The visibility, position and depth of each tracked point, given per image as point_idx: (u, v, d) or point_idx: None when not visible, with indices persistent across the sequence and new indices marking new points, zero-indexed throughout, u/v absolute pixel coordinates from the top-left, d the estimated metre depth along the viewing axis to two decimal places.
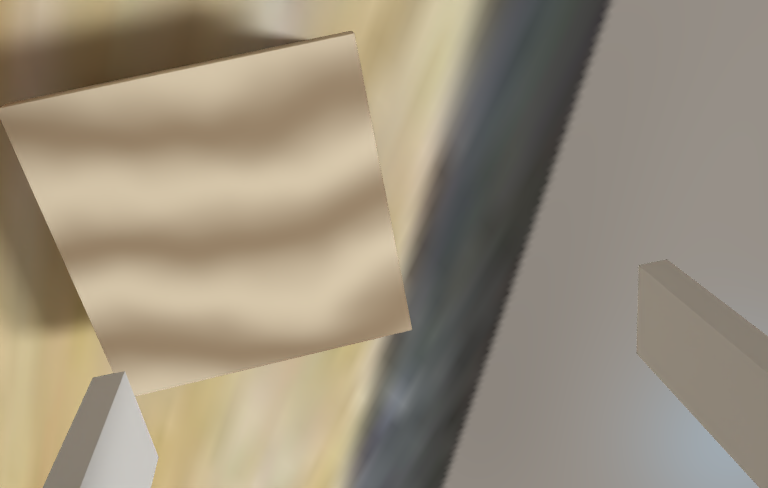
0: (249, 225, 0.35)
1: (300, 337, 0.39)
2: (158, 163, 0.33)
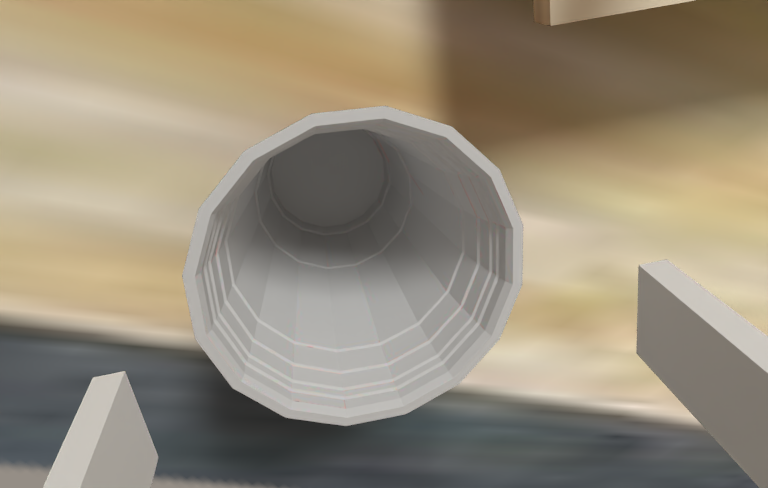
0: None
1: None
2: None
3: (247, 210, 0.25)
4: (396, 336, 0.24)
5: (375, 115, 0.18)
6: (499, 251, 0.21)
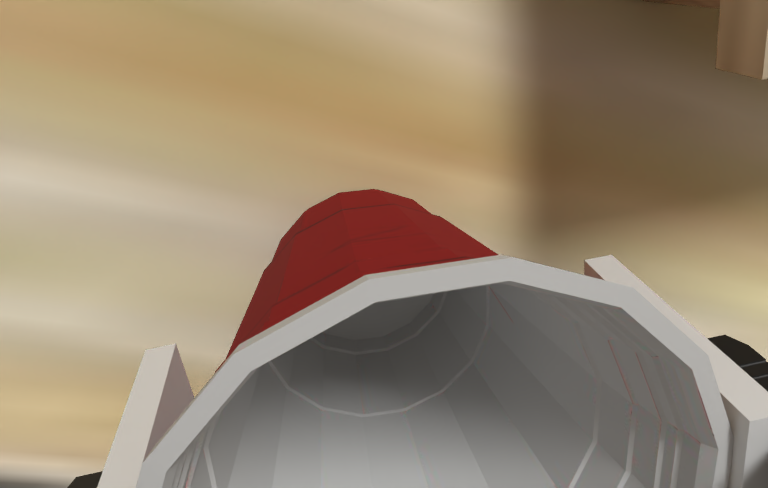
0: None
1: None
2: None
3: None
4: None
5: (492, 275, 0.09)
6: (679, 472, 0.12)
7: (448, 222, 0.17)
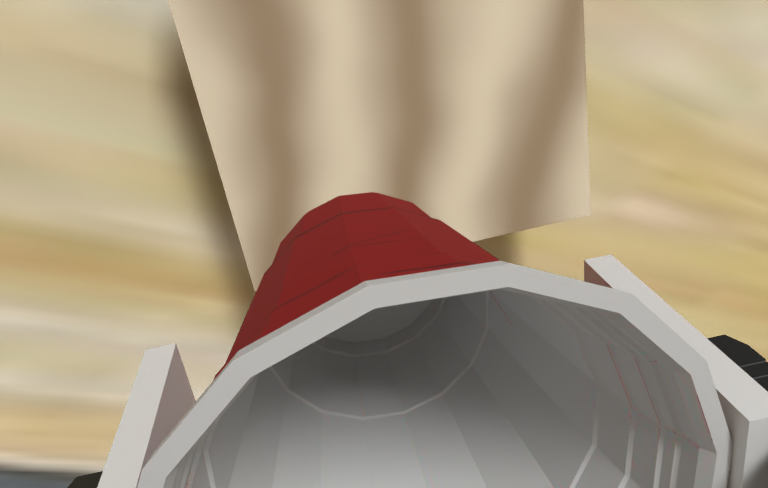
0: (390, 53, 0.29)
1: None
2: (310, 150, 0.30)
3: None
4: None
5: (491, 281, 0.09)
6: (678, 476, 0.12)
7: (447, 225, 0.17)
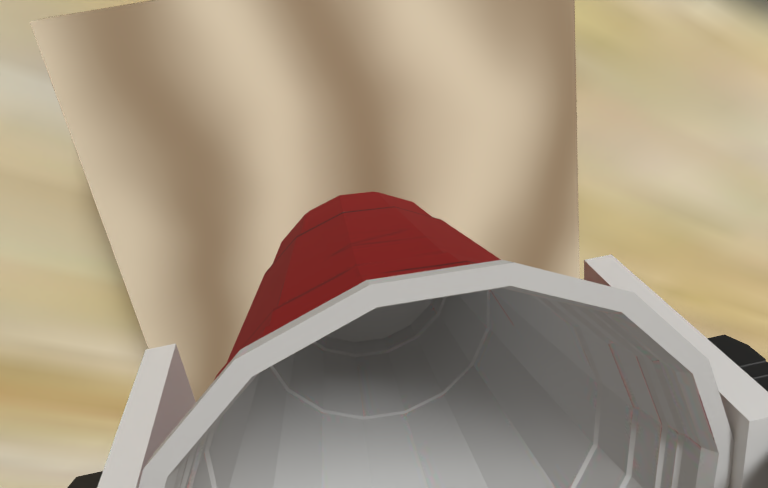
0: None
1: (543, 135, 0.24)
2: (250, 303, 0.25)
3: None
4: None
5: (493, 280, 0.09)
6: (680, 476, 0.12)
7: (449, 225, 0.17)
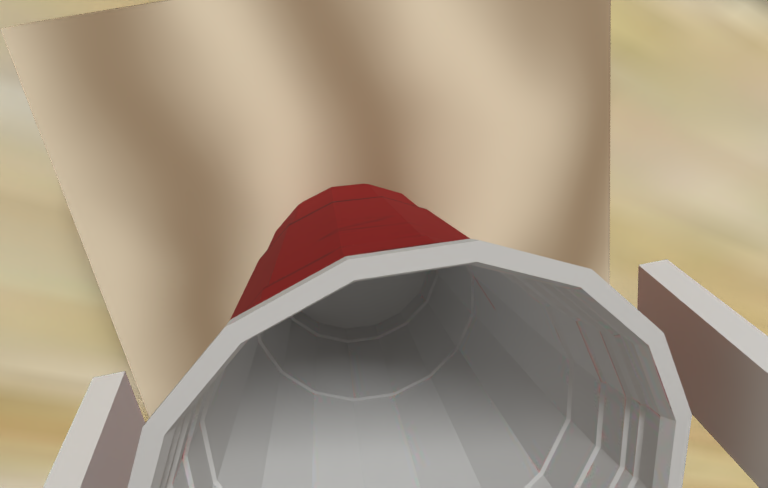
0: None
1: (573, 152, 0.22)
2: None
3: None
4: None
5: (461, 256, 0.10)
6: (642, 444, 0.13)
7: (433, 214, 0.17)
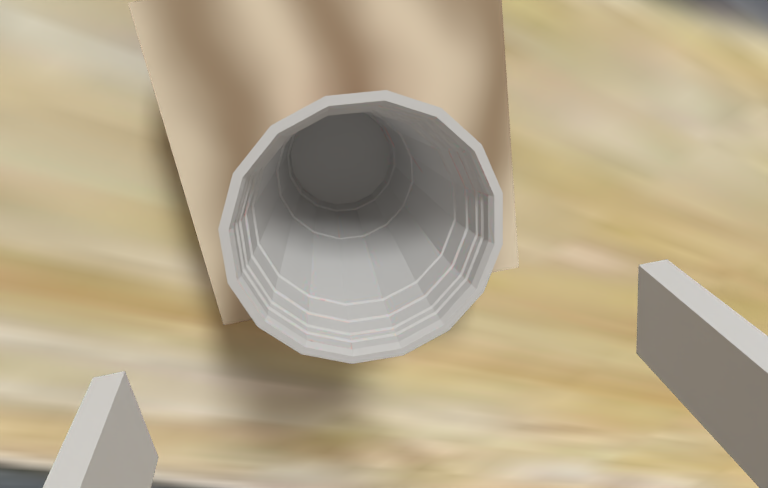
0: None
1: (482, 86, 0.34)
2: None
3: (270, 184, 0.29)
4: (397, 293, 0.28)
5: (377, 98, 0.22)
6: (483, 216, 0.25)
7: None
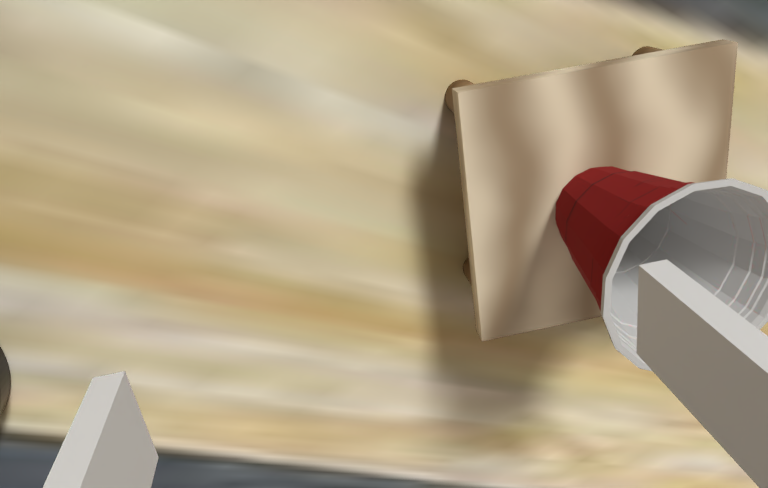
0: None
1: (710, 150, 0.42)
2: (535, 248, 0.43)
3: None
4: None
5: (726, 184, 0.31)
6: None
7: None
